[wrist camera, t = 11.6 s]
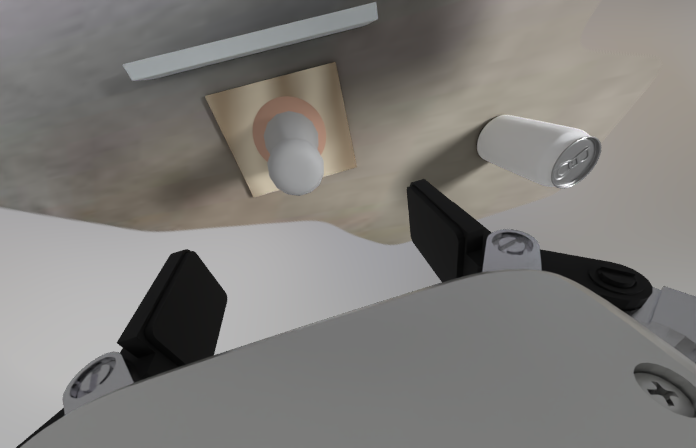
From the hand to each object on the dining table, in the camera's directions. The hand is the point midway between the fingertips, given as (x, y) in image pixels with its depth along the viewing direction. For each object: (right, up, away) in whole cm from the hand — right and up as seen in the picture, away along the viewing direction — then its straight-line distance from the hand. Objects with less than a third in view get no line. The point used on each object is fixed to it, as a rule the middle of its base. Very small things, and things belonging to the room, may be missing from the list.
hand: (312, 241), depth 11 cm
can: (+23, +13, +25) cm, 37 cm away
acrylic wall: (-7, +19, +14) cm, 24 cm away
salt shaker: (-5, +11, +18) cm, 22 cm away
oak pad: (-5, +11, +19) cm, 23 cm away
